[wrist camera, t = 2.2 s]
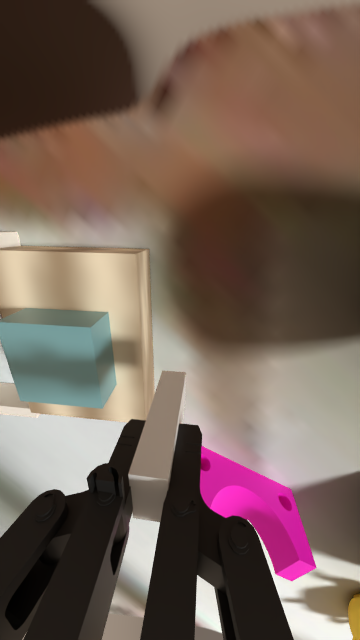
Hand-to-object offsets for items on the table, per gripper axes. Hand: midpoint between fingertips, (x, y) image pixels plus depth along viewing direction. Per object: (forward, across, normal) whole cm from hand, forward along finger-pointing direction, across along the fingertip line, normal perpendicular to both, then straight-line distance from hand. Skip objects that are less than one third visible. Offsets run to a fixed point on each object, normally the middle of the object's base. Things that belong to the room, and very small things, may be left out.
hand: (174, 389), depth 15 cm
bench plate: (+8, -9, 0) cm, 12 cm away
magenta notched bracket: (+9, +6, -21) cm, 23 cm away
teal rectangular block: (+4, -9, 0) cm, 10 cm away
